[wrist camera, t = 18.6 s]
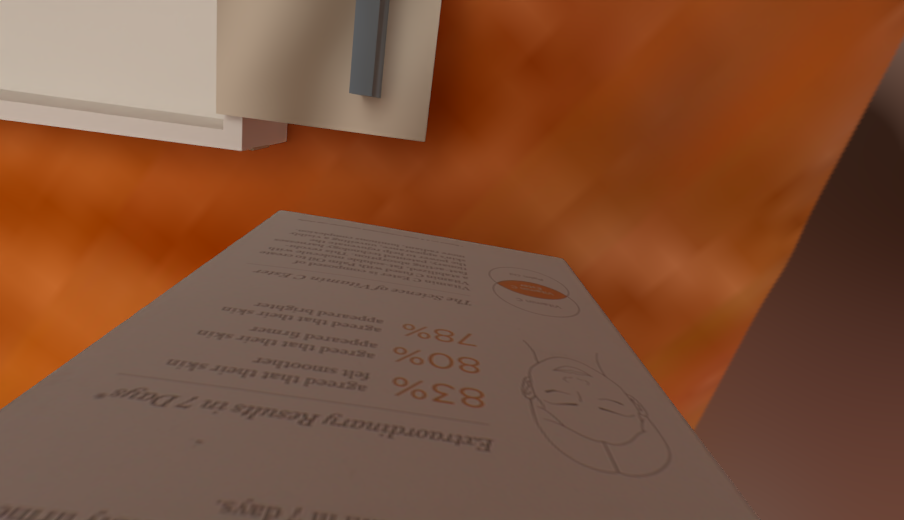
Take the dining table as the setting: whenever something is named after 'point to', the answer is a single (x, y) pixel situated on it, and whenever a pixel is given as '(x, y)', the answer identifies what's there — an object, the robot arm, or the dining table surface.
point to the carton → (121, 71)
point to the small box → (360, 396)
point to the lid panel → (329, 63)
